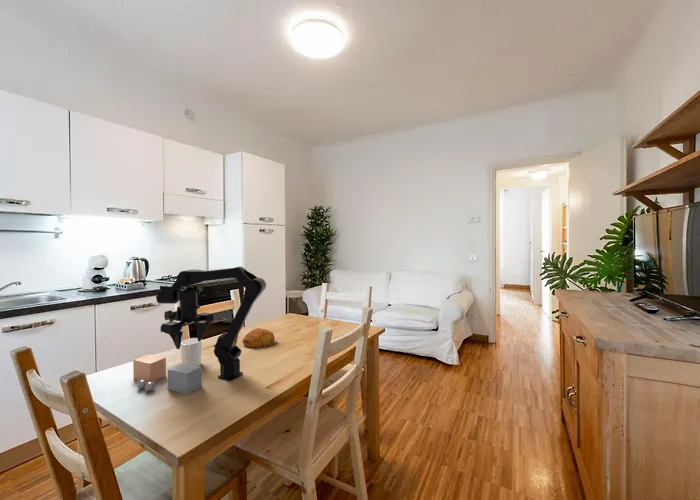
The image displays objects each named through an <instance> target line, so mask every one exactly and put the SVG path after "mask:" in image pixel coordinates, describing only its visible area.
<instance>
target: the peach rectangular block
mask: <svg viewBox="0 0 700 500" xmlns="http://www.w3.org/2000/svg"><path fill="white" fill-rule="evenodd" d="M166 358H167V357H163V356H160V355H155V354H151V353H149V354H146V355H144V356H140V357H137V358H135V359H133V362H132V364H133V368H132V369H133V379H135V380H137V381H141V380H146V381H147V383H148V382H154V383H155V382H156V381H158V380H160V379H163V378H164V377H167V359H166Z"/></svg>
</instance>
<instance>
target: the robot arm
mask: <svg viewBox="0 0 700 500" xmlns="http://www.w3.org/2000/svg"><path fill="white" fill-rule="evenodd" d="M226 279H235V280H237V281H238V283H239V284H240V286H242V287H244V288H245V289H244V292H243V297H242V298H243V300H242V301H241V304H240V306H239V307H238V309H237V312H236V314H235V315H234V318H233V319H232V321H231V324H230V325H229V327H228V329H227V332H223V333H221V334H220V335H219V336H218V338H217V340H216V342H215V344H214V345H213V346H212V347H213V354H214V356H215V357H216V358H217V360H218V364H219V367H220V370H219V371H220V372H219V373H220V375H218V376H217V378H218V379H220V380H226V381H229V382H230V381H233V380H235V379H237V378H238V377H240V376H242V375H243V373H244V372H242V371H241V361H240V360H241V359H240V358H239V357H240V356H241V354H242V349H241V348H240V347H238V345H237V343H238V340H239V339H238V338H239V333H240V332H241V330H242V328H243V325H244V324H245V321H246V320H247V317H248V316H249V314H250V312H251V310H252V308H253V306H254V303H256V301H257V300H258V299H259V298H260V296H261V295H262V294H263V293H264V291H265V290H266V287H267V283H266V281H265V279H263V278H261V277H258V276H256V275H255V274H253V273H251V272H250V271H248V270H246V268H244V267H243V266H236V267H229V268H220V269H212V270H204V269H203V270H202V269H193V268H192V269H188V270H187V269H186V270H183V271H182V270H181V271H180V272H179V273H178V274H177V277H176V280H175V281H174V283H173V284H172V285H167V284H162V285H160V286H159V289H158V291H157V292H156V296H155V297H156V302H157V303H158V304H159V305H160V304H162V305H163V304H167V305H169V304H175V305H176V304H177V303H179V306H177V307H176V311H173V310H171V309H169V310H166V311H164V315H163V317H164V320H165V321H168V322H163V323H162V324H161V325H160V333H165V334H168V336H170V338H171V340H172V342H173V344H174V346H175V349H177V350H181V341H182V340H183V331H182V329H183V327H186V326H189V325H193V324H195V326H196V335H197V337H196V338H197V339H198V341H201V339H202V340H203V338H204V335H205V333H206V331H207V329H208V327H209V326H210V324H212V322H213V321H214V319H215V317H214V314H213V313H210V312H200V313H198V309H200V307H201V306H200V305H199V304H198V293H200V292H202V291H204V288H202V286H200V285H199V283H203V282H208V281H217V280H226ZM196 284H197V285H196Z"/></svg>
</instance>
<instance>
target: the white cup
mask: <svg viewBox="0 0 700 500" xmlns="http://www.w3.org/2000/svg"><path fill="white" fill-rule="evenodd" d="M202 352H203V338H202V339H201V341H198V339H197V337H191V338H186V339H182V340H181V346H180V354H181V355H180V357H181V363H187V364H191V365H196V366H200V365H201V364H202Z"/></svg>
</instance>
